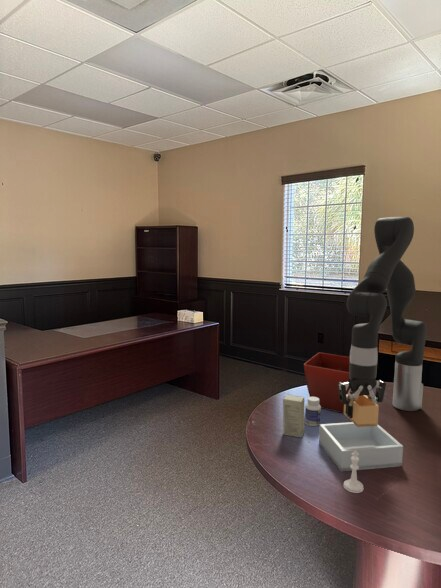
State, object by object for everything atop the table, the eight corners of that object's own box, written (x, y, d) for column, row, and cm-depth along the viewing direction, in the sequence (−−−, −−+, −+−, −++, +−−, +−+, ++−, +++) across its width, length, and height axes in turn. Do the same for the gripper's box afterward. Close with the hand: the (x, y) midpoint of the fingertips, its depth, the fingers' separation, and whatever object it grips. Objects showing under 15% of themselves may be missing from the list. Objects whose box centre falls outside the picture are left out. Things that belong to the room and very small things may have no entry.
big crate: (372, 438, 131) (373, 420, 131) (401, 466, 116) (403, 446, 115) (318, 442, 129) (319, 424, 128) (341, 471, 113) (342, 451, 112)
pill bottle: (320, 427, 139) (321, 402, 138) (304, 426, 140) (305, 401, 139) (320, 420, 144) (321, 396, 143) (304, 419, 145) (305, 395, 144)
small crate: (362, 412, 126) (363, 393, 125) (377, 425, 117) (378, 405, 116) (343, 413, 125) (344, 394, 124) (357, 427, 116) (358, 406, 115)
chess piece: (340, 481, 108) (342, 446, 107) (358, 480, 109) (360, 445, 107) (347, 493, 104) (349, 456, 102) (366, 492, 104) (369, 455, 103)
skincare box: (304, 432, 135) (305, 397, 133) (301, 438, 131) (302, 402, 130) (285, 428, 138) (286, 393, 136) (281, 434, 134) (282, 398, 132)
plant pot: (365, 400, 161) (367, 359, 158) (353, 419, 145) (355, 373, 142) (317, 391, 171) (318, 351, 168) (301, 407, 154) (302, 364, 152)
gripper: (379, 355, 123) (376, 409, 125) (334, 357, 121) (331, 412, 123) (393, 363, 116) (389, 420, 118) (345, 365, 113) (342, 423, 116)
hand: (360, 415), depth 121 cm, fingers closed on small crate, 6 cm apart
